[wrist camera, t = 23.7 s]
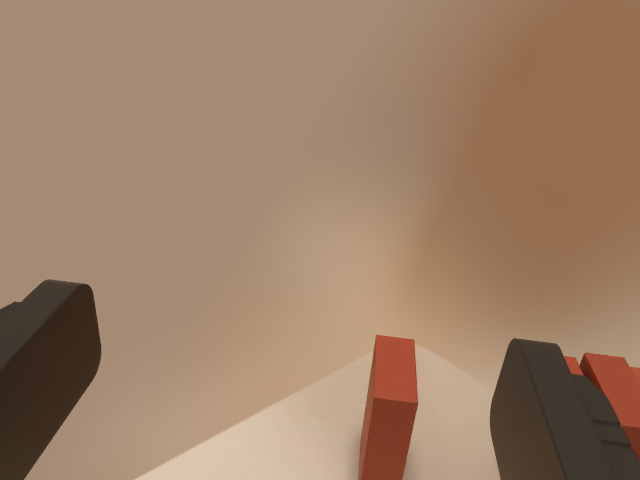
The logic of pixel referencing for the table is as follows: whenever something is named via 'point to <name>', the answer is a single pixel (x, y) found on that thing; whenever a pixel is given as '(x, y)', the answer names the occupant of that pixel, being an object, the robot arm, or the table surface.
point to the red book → (389, 410)
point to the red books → (615, 389)
